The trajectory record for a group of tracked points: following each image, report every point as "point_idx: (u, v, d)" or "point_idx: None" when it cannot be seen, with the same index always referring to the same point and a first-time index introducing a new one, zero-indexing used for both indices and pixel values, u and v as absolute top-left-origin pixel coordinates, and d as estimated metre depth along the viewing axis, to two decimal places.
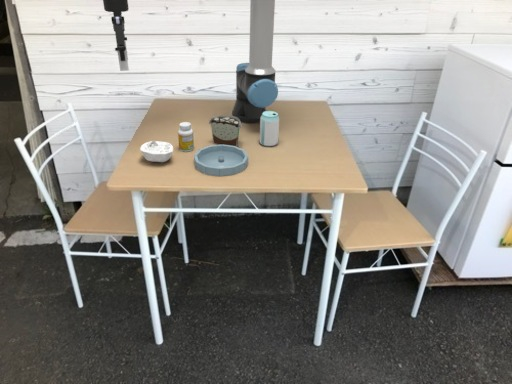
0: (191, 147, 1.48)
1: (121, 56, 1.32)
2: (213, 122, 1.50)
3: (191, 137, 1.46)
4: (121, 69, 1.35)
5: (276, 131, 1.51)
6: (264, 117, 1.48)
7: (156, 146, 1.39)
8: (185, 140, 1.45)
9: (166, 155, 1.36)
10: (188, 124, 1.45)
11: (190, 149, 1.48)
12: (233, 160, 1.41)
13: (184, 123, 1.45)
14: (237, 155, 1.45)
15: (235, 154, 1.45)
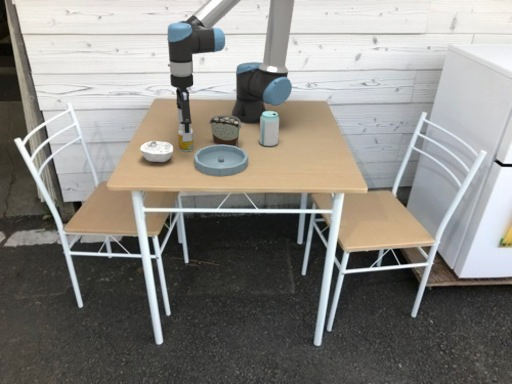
0: (191, 147, 1.48)
1: (186, 129, 1.37)
2: (213, 122, 1.50)
3: (191, 137, 1.46)
4: (184, 140, 1.40)
5: (276, 131, 1.51)
6: (264, 117, 1.48)
7: (156, 146, 1.39)
8: None
9: (166, 155, 1.36)
10: None
11: (190, 149, 1.48)
12: (233, 160, 1.41)
13: None
14: (237, 155, 1.45)
15: (235, 154, 1.45)
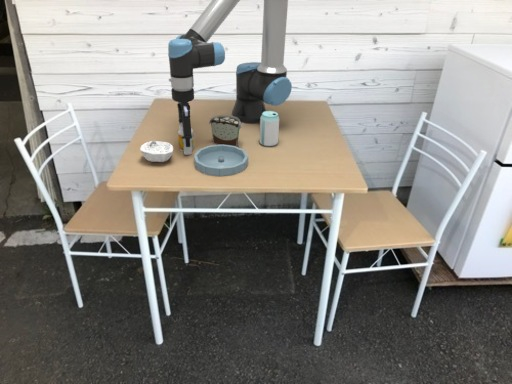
0: None
1: (187, 143, 1.42)
2: (213, 122, 1.50)
3: None
4: (185, 153, 1.45)
5: (276, 131, 1.51)
6: (264, 117, 1.48)
7: (156, 146, 1.39)
8: None
9: (166, 155, 1.36)
10: None
11: None
12: (233, 160, 1.41)
13: None
14: (237, 155, 1.45)
15: (235, 154, 1.45)
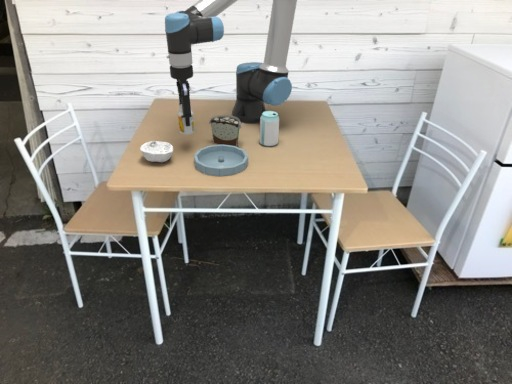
0: (192, 129, 1.44)
1: (186, 122, 1.40)
2: (213, 122, 1.50)
3: (191, 119, 1.43)
4: (185, 133, 1.43)
5: (276, 131, 1.51)
6: (264, 117, 1.48)
7: (156, 146, 1.39)
8: None
9: (166, 155, 1.36)
10: None
11: None
12: (233, 160, 1.41)
13: None
14: (237, 155, 1.45)
15: (235, 154, 1.45)
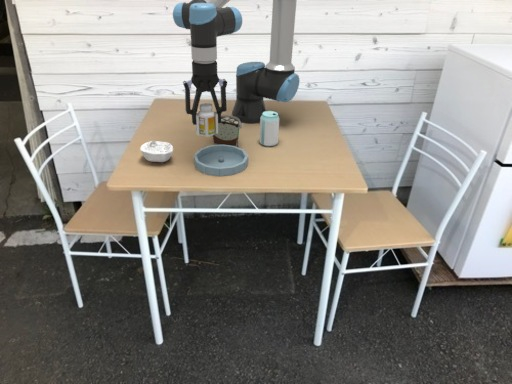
0: (200, 131, 1.31)
1: (192, 119, 1.30)
2: None
3: (201, 120, 1.29)
4: (196, 131, 1.33)
5: (276, 131, 1.51)
6: (264, 117, 1.48)
7: (156, 146, 1.39)
8: None
9: (166, 155, 1.36)
10: (204, 106, 1.28)
11: (200, 133, 1.32)
12: (233, 160, 1.41)
13: (207, 104, 1.29)
14: (237, 155, 1.45)
15: (235, 154, 1.45)
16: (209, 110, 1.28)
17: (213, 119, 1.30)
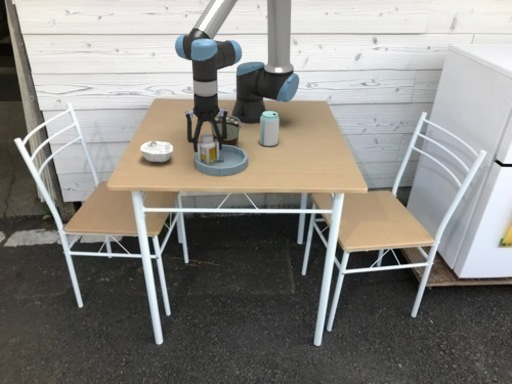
0: (202, 161, 1.37)
1: (193, 147, 1.35)
2: None
3: (202, 151, 1.35)
4: None
5: (276, 131, 1.51)
6: (264, 117, 1.48)
7: (156, 146, 1.39)
8: None
9: (166, 155, 1.36)
10: (205, 137, 1.33)
11: (201, 162, 1.38)
12: (233, 160, 1.41)
13: (208, 135, 1.35)
14: (237, 155, 1.45)
15: (235, 154, 1.45)
16: (210, 141, 1.34)
17: (214, 149, 1.36)
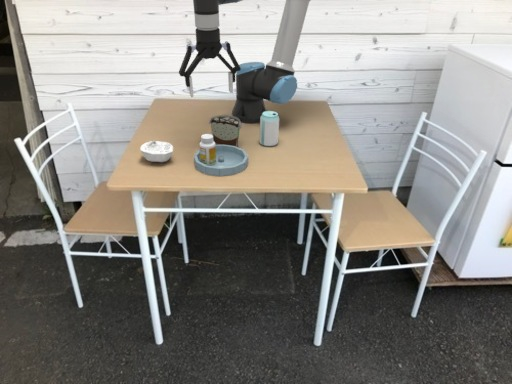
0: (202, 161, 1.37)
1: (185, 81, 1.34)
2: (213, 122, 1.50)
3: (202, 151, 1.35)
4: None
5: (276, 131, 1.51)
6: (264, 117, 1.48)
7: (156, 146, 1.39)
8: None
9: (166, 155, 1.36)
10: (205, 137, 1.33)
11: (201, 162, 1.38)
12: (233, 160, 1.41)
13: (208, 135, 1.35)
14: (237, 155, 1.45)
15: (235, 154, 1.45)
16: (210, 141, 1.34)
17: (214, 149, 1.36)
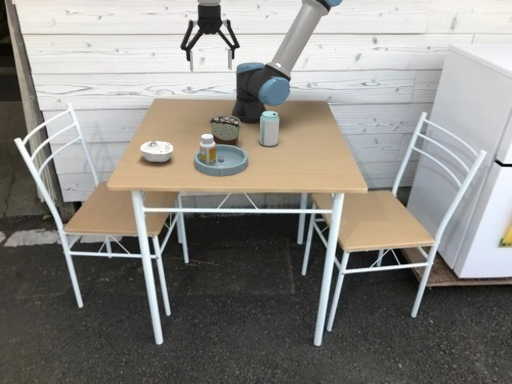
0: (202, 161, 1.37)
1: (186, 56, 1.39)
2: (213, 122, 1.50)
3: (202, 151, 1.35)
4: (190, 68, 1.42)
5: (276, 131, 1.51)
6: (264, 117, 1.48)
7: (156, 146, 1.39)
8: None
9: (166, 155, 1.36)
10: (205, 137, 1.33)
11: (201, 162, 1.38)
12: (233, 160, 1.41)
13: (208, 135, 1.35)
14: (237, 155, 1.45)
15: (235, 154, 1.45)
16: (210, 141, 1.34)
17: (214, 149, 1.36)
